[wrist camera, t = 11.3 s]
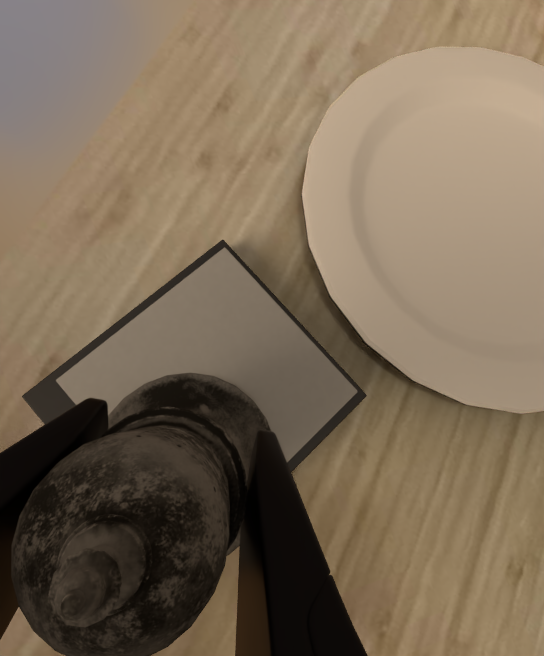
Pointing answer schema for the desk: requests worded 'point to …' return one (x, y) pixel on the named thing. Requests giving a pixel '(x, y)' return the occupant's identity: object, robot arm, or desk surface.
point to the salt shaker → (138, 520)
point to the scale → (213, 354)
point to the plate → (438, 220)
